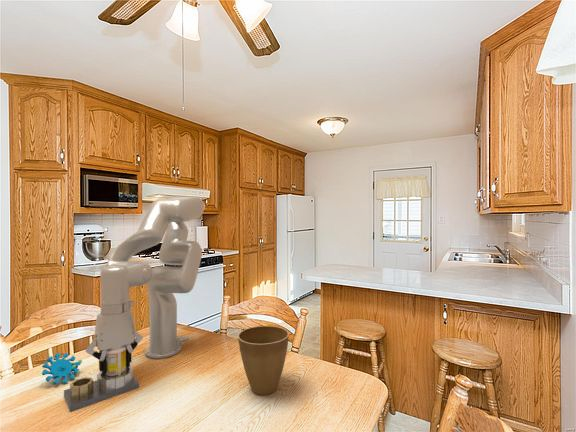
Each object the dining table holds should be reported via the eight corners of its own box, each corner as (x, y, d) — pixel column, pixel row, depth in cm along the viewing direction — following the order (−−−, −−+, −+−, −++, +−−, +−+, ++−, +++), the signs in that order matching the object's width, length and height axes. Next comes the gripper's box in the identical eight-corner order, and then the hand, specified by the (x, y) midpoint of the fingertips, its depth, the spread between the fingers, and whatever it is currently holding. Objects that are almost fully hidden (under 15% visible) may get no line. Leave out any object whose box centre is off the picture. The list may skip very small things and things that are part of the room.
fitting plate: (128, 375, 102) (128, 361, 102) (139, 387, 95) (138, 372, 95) (63, 395, 90) (63, 379, 90) (70, 411, 83) (69, 394, 83)
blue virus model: (47, 386, 92) (40, 355, 97) (38, 397, 94) (31, 366, 98) (87, 375, 102) (79, 347, 106) (79, 385, 103) (71, 358, 108)
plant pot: (295, 379, 99) (295, 328, 99) (278, 407, 85) (278, 347, 85) (251, 372, 104) (251, 322, 104) (228, 396, 90) (228, 339, 90)
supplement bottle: (123, 368, 99) (122, 335, 99) (128, 375, 95) (128, 340, 95) (102, 375, 95) (102, 340, 95) (107, 382, 91) (107, 346, 91)
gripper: (141, 300, 103) (141, 356, 103) (78, 311, 92) (79, 374, 92) (149, 304, 98) (150, 364, 98) (84, 317, 86) (84, 384, 86)
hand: (115, 368), depth 95 cm, fingers closed on supplement bottle, 5 cm apart
